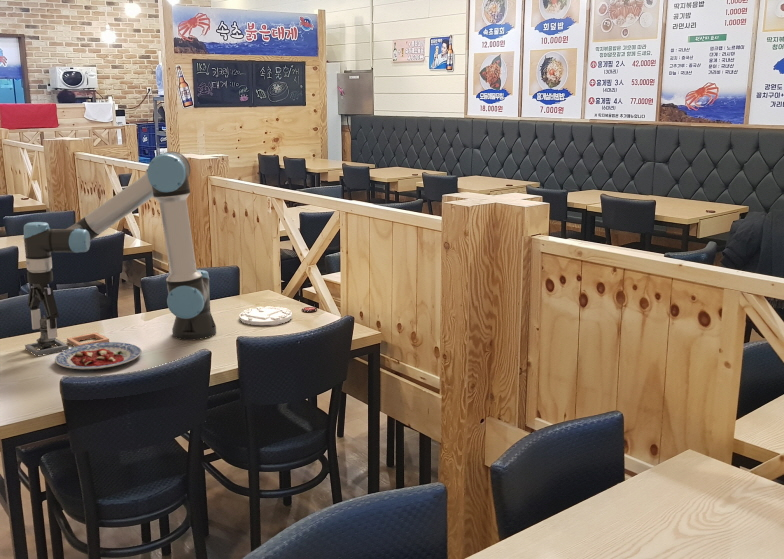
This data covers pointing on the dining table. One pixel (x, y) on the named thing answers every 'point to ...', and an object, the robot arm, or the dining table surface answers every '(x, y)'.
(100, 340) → the socket
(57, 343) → the socket
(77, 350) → the ceramic plate
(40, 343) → the chess piece
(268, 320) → the embossed medallion
